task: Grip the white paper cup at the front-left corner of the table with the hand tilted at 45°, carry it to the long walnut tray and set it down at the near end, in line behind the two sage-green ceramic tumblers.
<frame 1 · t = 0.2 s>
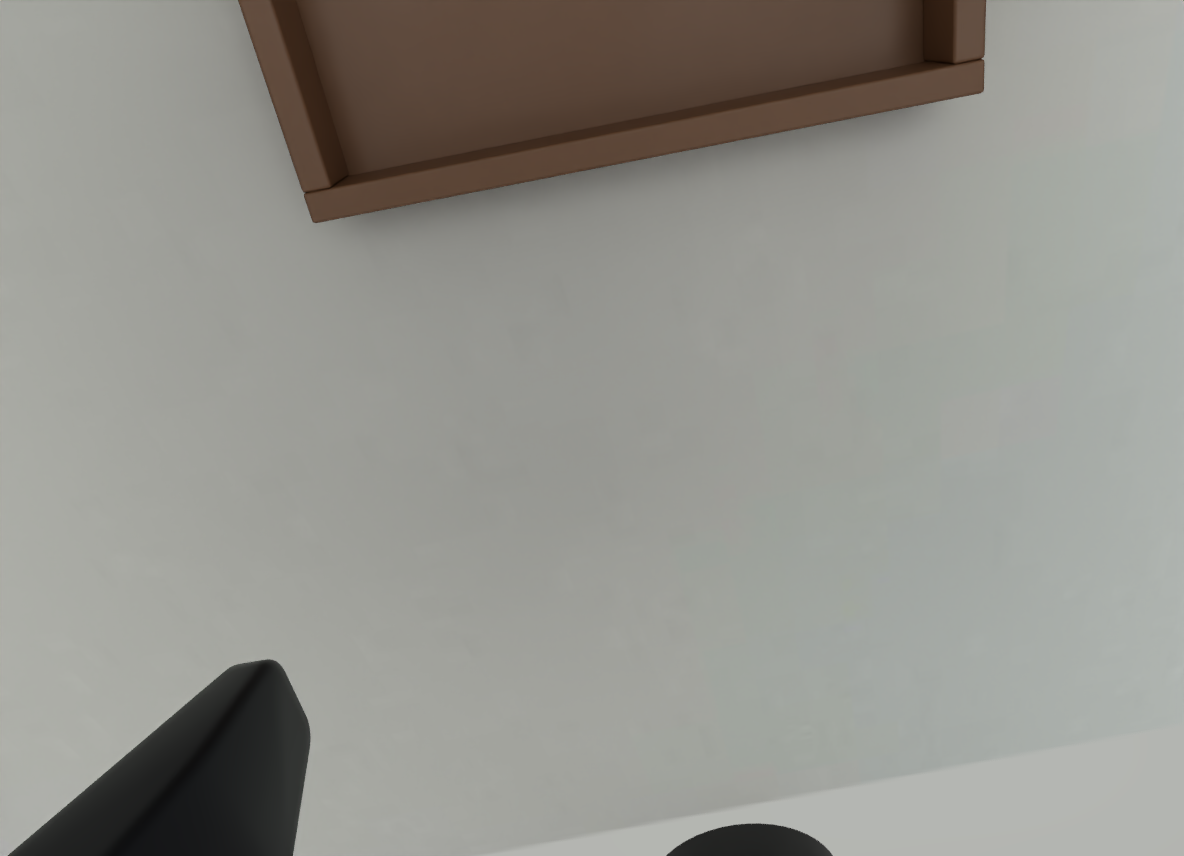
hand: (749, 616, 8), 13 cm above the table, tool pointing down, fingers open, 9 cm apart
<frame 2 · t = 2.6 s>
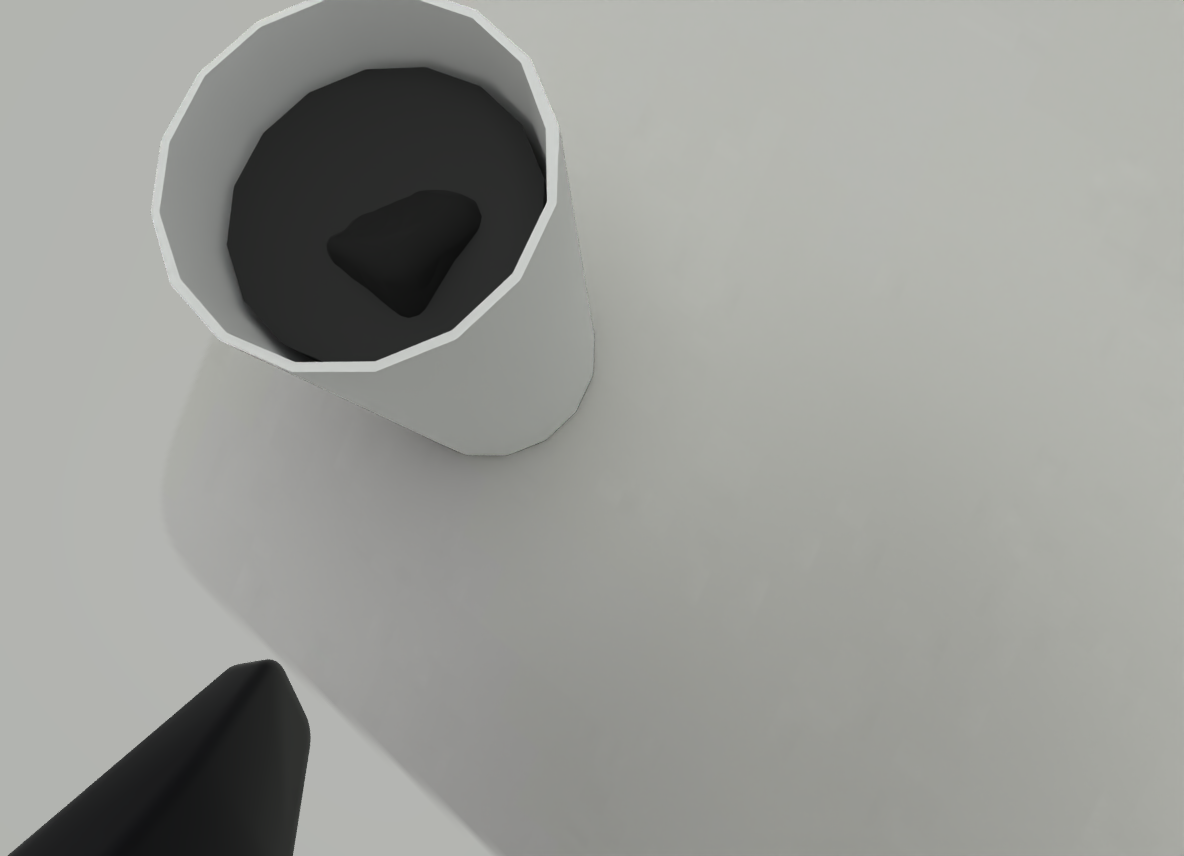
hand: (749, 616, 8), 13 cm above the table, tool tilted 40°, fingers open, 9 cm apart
white paper cup: (493, 356, 23), on the table
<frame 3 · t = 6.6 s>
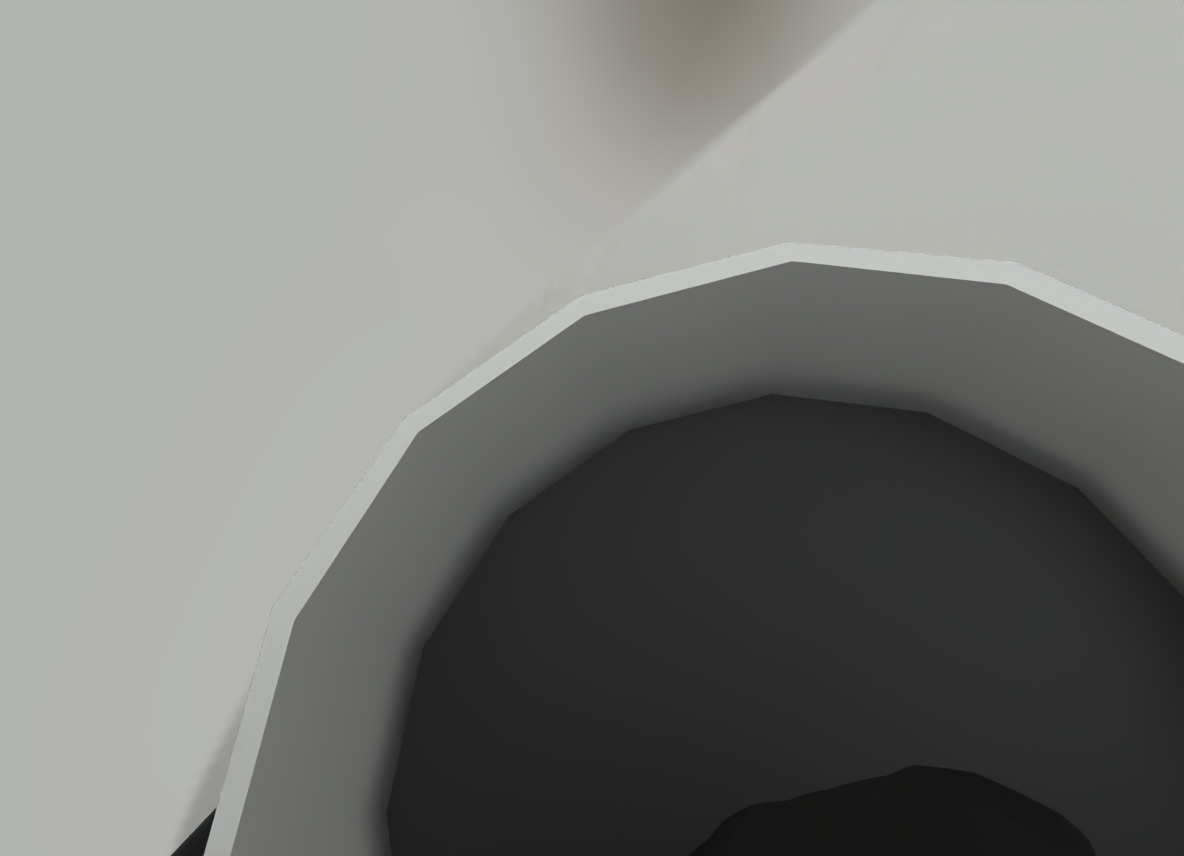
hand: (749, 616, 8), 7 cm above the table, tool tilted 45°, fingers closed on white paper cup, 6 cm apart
white paper cup: (739, 734, 14), on the table, touching gripper
when the fingers open (7 cm above the table, at t = 17.0 s): white paper cup stays where it is, resting on tray.
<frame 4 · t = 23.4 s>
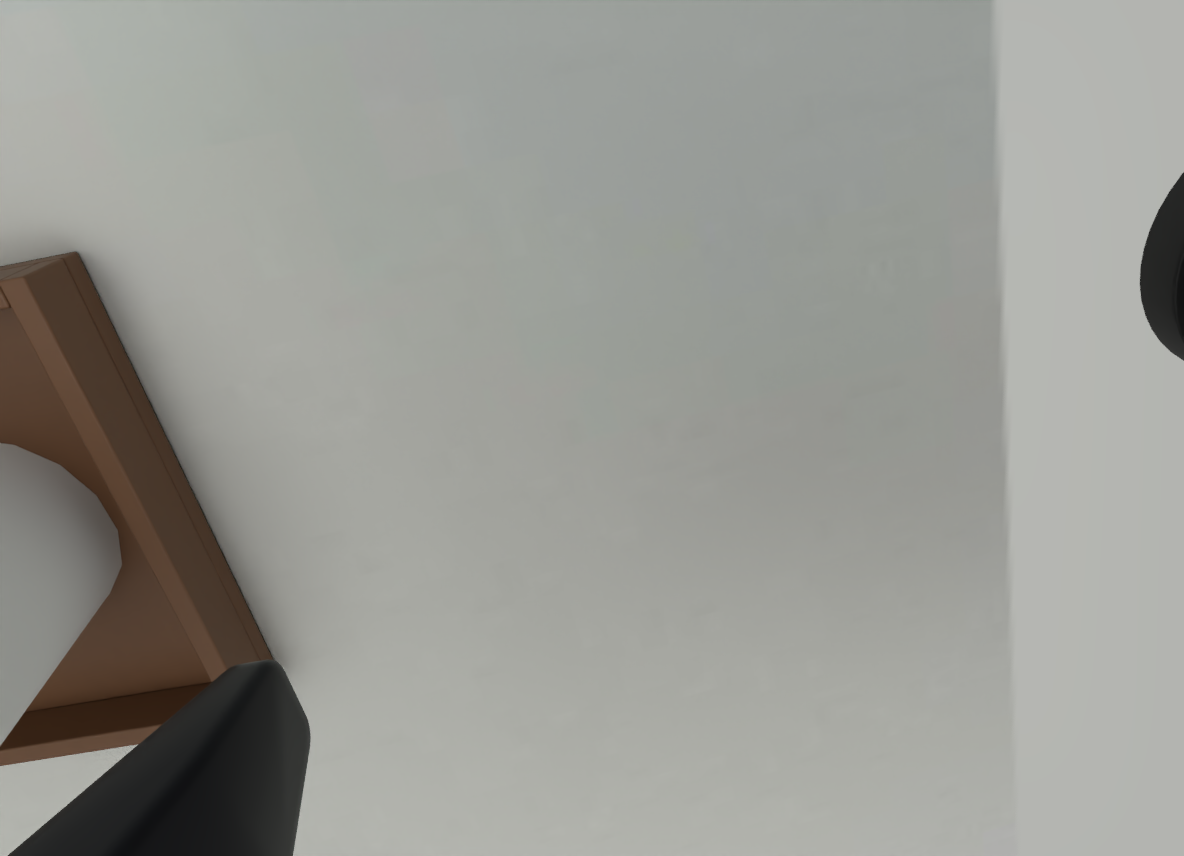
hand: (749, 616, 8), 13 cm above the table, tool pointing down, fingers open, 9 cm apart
white paper cup: (13, 531, 22), resting on tray
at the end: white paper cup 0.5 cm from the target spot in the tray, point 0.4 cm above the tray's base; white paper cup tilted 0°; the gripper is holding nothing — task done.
